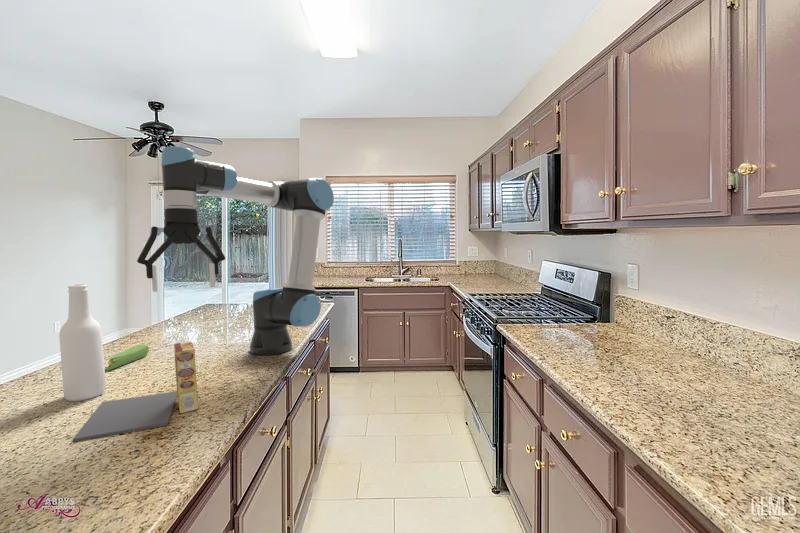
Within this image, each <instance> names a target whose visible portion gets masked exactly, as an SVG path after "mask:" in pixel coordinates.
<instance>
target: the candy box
mask: <svg viewBox="0 0 800 533" xmlns="http://www.w3.org/2000/svg"><path fill="white" fill-rule="evenodd" d="M193 344H194V343H192V341H185V342H178V343H173V346H174V348H173V350H174V365H175V367H174V368H175V381H176V391H177V395H178V397H177V404H178V408H179V413H180V414H184V413H189V412H192V411H196V410H199V398H198V384H197V383H198V382H197V366H196V354H195V353H196V352H195V350H196V349H195V347H194V345H193Z"/></svg>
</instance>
